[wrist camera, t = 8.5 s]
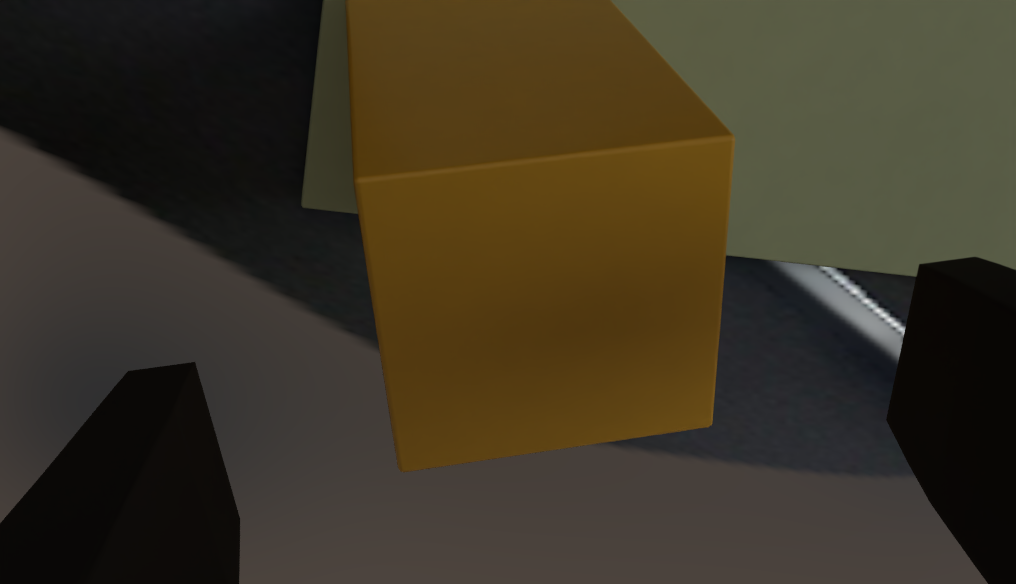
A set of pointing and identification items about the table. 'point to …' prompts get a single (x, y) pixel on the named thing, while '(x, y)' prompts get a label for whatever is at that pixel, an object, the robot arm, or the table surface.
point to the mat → (809, 123)
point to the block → (534, 226)
